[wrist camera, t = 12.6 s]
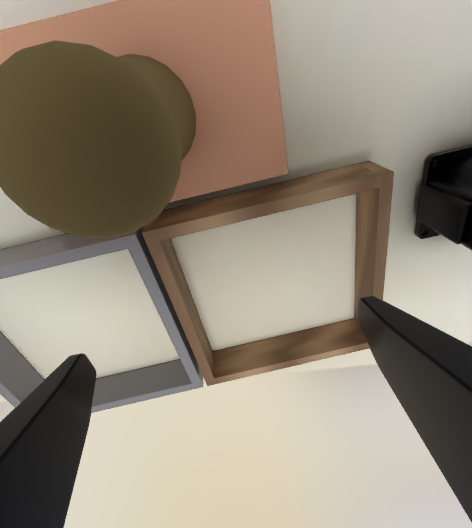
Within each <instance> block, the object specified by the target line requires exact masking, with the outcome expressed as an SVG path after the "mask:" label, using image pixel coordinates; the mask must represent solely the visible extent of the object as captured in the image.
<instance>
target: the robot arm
mask: <svg viewBox="0 0 472 528" xmlns="http://www.w3.org/2000/svg"><path fill="white" fill-rule="evenodd" d="M434 160H436V162H435V163H434V164H433V161H434ZM423 231H424V232H423ZM422 232H423V233H422ZM415 235H416V236H417V237H419V238H421V239H424V238H429V237H433V236H437V235H442V236H444V237H446V238H447V239H449V240H450V241H452V242H454V243H455V244H462V245H464V246H465V247H467V248H469V249H470V250H472V145H469V146H465V147H461V148H457V149H453V150H448V151H444V152H440V153H436V154H433V155H430V156H429V157H428V158H427V160H426V162H425V168H424V175H423V182H422V189H421V193H420V200H419V207H418V214H417V224H416V231H415ZM357 319H358V323H359V325H360V327H361V329H362V332H363V334H364V336H365V338H366V340H367V343H368V345H369V347H370V349H371V351H372V354H373V356H374V358H375V360H376V362H377V364H378V366H379V368H380V370H381V371H382V373H383V375H384V377H385V378H386V380H387V382H388V383H389V385H390V387H391V388H392V390H393V392H394V393H395V395H396V396H397V398H398V400H399V402H400V403H401V405H402V407H403V408H404V410H405V412H406V413H407V415H408V417H409V418H410V420H411V421H412V423H413V425H414V426H415V428H416V430H417V432H418V433H419V435H420V437H421V438H422V440H423V442H424V443H425V445H426V447H427V448H428V450H429V452H430V453H431V455H432V457H433V458H434V460H435V462H436V463H437V465H438V467H439V468H440V470H441V472H442V474H443V475H444V477H445V479H446V480H447V482H448V483H449V485H450V487H451V489H452V490H453V492H454V494H455V495H456V497H457V498H458V500H459V502H460V504H461V505H462V507H463V509H464V510H465V512H466V513H467V515H468V517H469V519H470V520H471V522H472V347H471V346H470V345H468V344H466V343H464V342H462V341H460V340H458V339H456V338H454V337H452V336H450V335H448V334H446V333H445V332H443V331H441V330H439V329H437V328H435V327H433V326H431V325H429V324H427V323H425V322H423V321H421V320H419V319H417V318H416V317H414V316H412V315H410V314H408V313H406V312H404V311H402V310H400V309H398V308H396V307H394V306H392V305H390V304H389V303H387V302H385V301H383V300H381V299H379V298H377V297H375V296H372V295H370V296H365V297H361V298H359V300H358V312H357ZM95 382H96V370H95V368H94V366H93V365H92V364H91V362H90V361H89V359H88V358H87V356H86V355H85V354H82V353H81V354H76V355H72V356H69V357H68V358H67V359H66V360H65V361H64V362H63V363H62V364H61V365H60V366H59V367H58V368H57V369H56V370H54V371H53V372H52V373H51V374H50V375H49V376H48V377H47V378H46V379H45V380H44V381H43V382H42V383H41V384H40V385H39V386H38V387H37V388H36V389H35V390H34V391H32V392H31V393H30V394H29V395H28V396H27V397H26V398H25V399H24V400H23V401H22V402H21V403H20V404H19V405H18V406H17V407H16V408H15V409H14V410H13V411H11V412H10V413H9V415H7V416H6V417H5V418H4V419H3V420H2V421H1V422H0V528H63V527H64V523H65V519H66V515H67V511H68V507H69V503H70V499H71V495H72V491H73V487H74V483H75V479H76V475H77V471H78V467H79V463H80V459H81V455H82V451H83V447H84V443H85V439H86V435H87V431H88V427H89V422H90V416H91V410H92V403H93V396H94V389H95Z"/></svg>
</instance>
